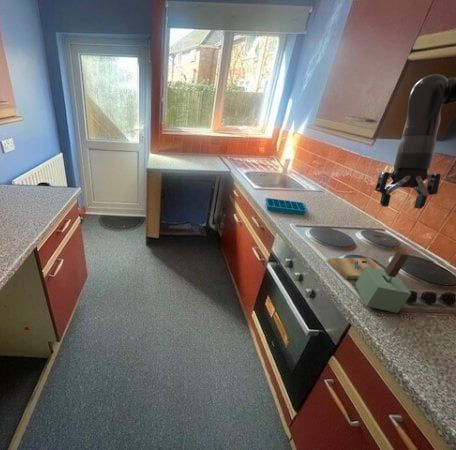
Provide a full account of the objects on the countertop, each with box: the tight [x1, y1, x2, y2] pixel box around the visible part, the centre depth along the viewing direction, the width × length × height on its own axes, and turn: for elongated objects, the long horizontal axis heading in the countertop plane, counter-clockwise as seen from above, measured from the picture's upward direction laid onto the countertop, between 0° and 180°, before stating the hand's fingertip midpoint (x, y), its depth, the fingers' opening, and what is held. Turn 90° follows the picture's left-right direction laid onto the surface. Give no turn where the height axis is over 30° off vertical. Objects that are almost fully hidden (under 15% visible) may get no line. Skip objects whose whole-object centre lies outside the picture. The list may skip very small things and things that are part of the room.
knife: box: [383, 249, 410, 283], centre depth 75 cm, size 3×2×17 cm
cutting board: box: [327, 257, 385, 280], centre depth 92 cm, size 16×10×2 cm, turn 92°
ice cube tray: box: [264, 197, 309, 216], centre depth 135 cm, size 12×20×3 cm, turn 73°
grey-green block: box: [354, 267, 412, 314], centre depth 78 cm, size 10×8×8 cm
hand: (400, 207), depth 76 cm, fingers open, 8 cm apart
